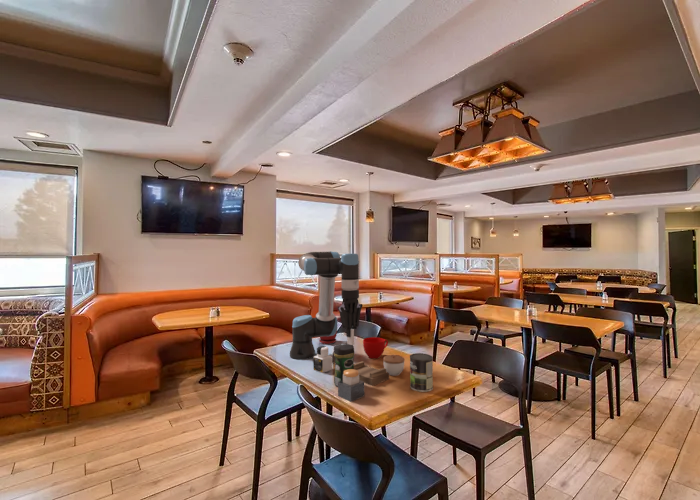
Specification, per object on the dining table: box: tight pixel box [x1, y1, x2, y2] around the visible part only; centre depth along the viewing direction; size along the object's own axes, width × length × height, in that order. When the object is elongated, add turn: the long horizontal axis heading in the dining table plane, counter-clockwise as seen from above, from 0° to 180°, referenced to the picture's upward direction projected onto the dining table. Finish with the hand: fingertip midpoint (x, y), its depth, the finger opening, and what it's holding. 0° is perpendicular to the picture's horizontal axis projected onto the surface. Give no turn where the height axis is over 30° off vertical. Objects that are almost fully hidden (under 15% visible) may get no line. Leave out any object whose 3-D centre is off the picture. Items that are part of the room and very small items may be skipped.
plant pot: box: [319, 330, 338, 345], centre depth 232 cm, size 13×13×12 cm
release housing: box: [337, 380, 365, 402], centre depth 144 cm, size 8×8×6 cm
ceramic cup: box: [362, 336, 389, 360], centre depth 199 cm, size 13×17×10 cm
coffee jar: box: [333, 343, 356, 388], centre depth 157 cm, size 10×8×19 cm
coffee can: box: [409, 352, 434, 393], centre depth 153 cm, size 10×10×14 cm
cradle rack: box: [354, 361, 390, 387], centre depth 166 cm, size 18×12×5 cm, turn 44°
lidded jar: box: [382, 354, 405, 377], centre depth 171 cm, size 11×11×9 cm
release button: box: [343, 369, 359, 386], centre depth 144 cm, size 6×6×7 cm
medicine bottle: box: [312, 345, 333, 374], centre depth 177 cm, size 7×7×12 cm
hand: (350, 344), depth 144 cm, fingers closed
